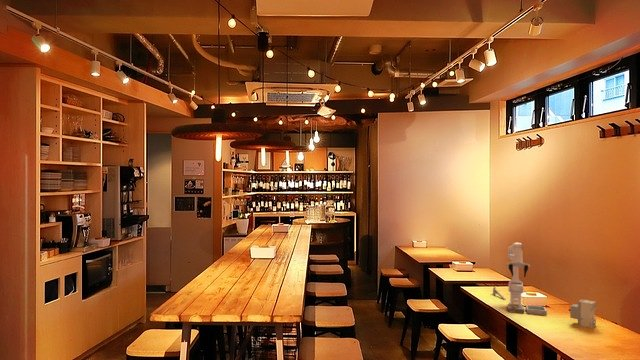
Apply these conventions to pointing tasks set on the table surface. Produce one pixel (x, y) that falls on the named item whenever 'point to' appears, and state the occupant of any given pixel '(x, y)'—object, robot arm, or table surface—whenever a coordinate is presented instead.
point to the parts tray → (536, 310)
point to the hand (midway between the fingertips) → (518, 275)
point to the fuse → (515, 303)
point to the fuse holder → (514, 309)
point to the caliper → (497, 293)
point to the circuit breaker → (584, 313)
